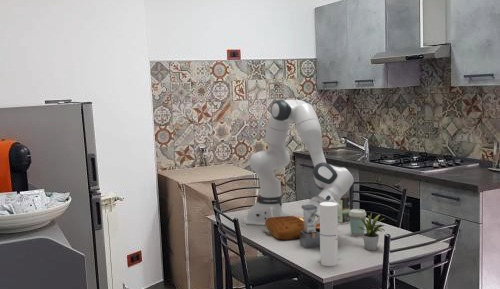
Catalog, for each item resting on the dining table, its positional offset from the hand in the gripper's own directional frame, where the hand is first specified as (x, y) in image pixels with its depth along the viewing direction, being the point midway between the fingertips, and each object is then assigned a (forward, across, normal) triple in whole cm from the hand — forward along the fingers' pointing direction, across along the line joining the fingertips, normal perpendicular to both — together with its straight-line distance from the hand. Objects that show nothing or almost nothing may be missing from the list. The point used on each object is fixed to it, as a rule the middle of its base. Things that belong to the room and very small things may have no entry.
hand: (308, 222), depth 226 cm
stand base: (+8, 0, +9) cm, 12 cm away
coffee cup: (-13, -9, +30) cm, 34 cm away
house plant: (-8, +11, +26) cm, 29 cm away
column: (+7, 0, +8) cm, 11 cm away
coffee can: (-16, -34, +33) cm, 50 cm away
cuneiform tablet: (+10, -21, +7) cm, 24 cm away
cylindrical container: (+9, +21, +8) cm, 24 cm away
